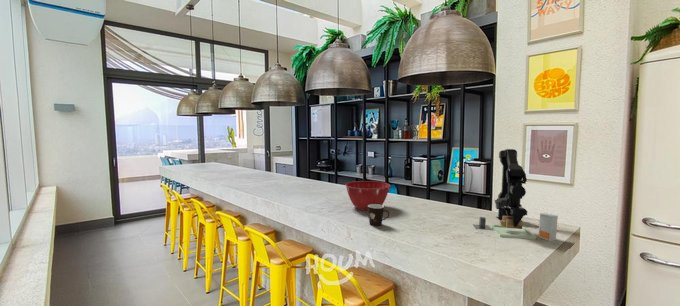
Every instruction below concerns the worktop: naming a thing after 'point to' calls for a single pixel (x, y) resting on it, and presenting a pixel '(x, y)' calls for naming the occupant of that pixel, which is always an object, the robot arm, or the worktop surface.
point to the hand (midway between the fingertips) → (512, 224)
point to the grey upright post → (482, 224)
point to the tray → (512, 232)
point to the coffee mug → (376, 214)
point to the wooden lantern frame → (510, 222)
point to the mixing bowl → (367, 193)
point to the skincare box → (548, 226)
